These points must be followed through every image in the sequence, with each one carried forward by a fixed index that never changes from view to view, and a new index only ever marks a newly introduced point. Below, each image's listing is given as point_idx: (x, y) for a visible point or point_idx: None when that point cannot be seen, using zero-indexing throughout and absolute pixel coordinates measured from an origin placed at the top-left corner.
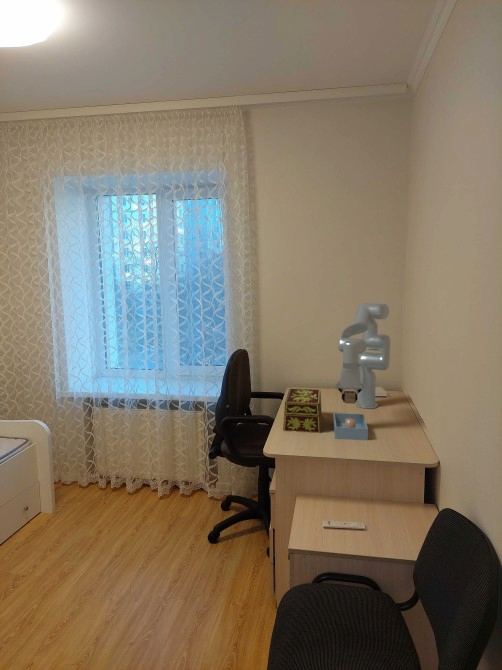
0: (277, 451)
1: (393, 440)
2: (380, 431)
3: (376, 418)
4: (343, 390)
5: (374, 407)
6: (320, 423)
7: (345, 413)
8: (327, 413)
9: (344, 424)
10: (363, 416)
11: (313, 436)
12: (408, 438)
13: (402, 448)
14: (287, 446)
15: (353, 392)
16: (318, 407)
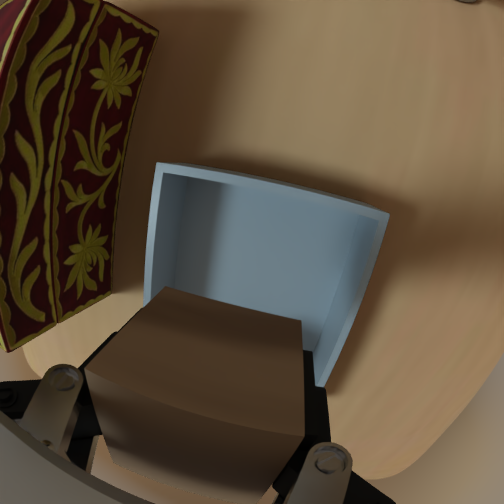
0: (42, 377)
1: (394, 399)
2: (407, 316)
3: (464, 124)
4: (73, 462)
5: (469, 1)
6: (95, 257)
7: (248, 179)
8: (199, 8)
9: (244, 209)
10: (369, 269)
11: (92, 322)
12: (451, 381)
13: (377, 442)
14: (49, 363)
15: (248, 478)
16: (22, 342)
